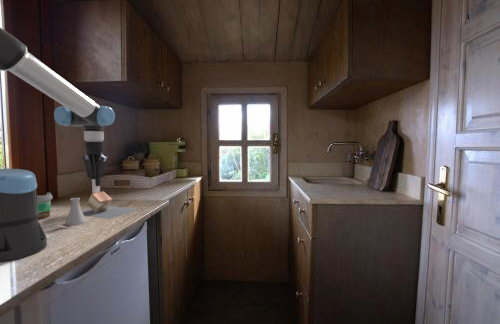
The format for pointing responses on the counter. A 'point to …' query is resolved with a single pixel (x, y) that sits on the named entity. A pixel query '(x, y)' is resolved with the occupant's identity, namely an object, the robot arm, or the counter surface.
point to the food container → (44, 205)
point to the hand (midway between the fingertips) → (96, 193)
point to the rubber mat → (108, 212)
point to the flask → (75, 213)
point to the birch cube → (99, 201)
